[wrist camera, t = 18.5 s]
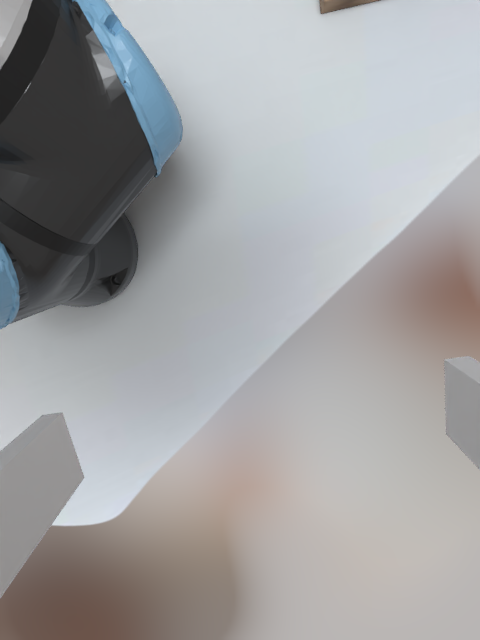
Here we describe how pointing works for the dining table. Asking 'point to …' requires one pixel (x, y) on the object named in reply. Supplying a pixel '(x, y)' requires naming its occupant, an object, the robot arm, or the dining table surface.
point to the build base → (340, 4)
